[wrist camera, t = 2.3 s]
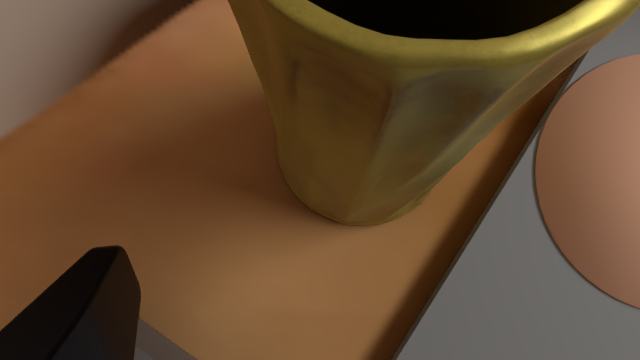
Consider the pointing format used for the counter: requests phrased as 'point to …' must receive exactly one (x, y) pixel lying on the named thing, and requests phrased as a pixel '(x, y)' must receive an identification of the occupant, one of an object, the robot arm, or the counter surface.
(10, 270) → the counter surface
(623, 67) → the picture board
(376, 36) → the vase
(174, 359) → the button housing
